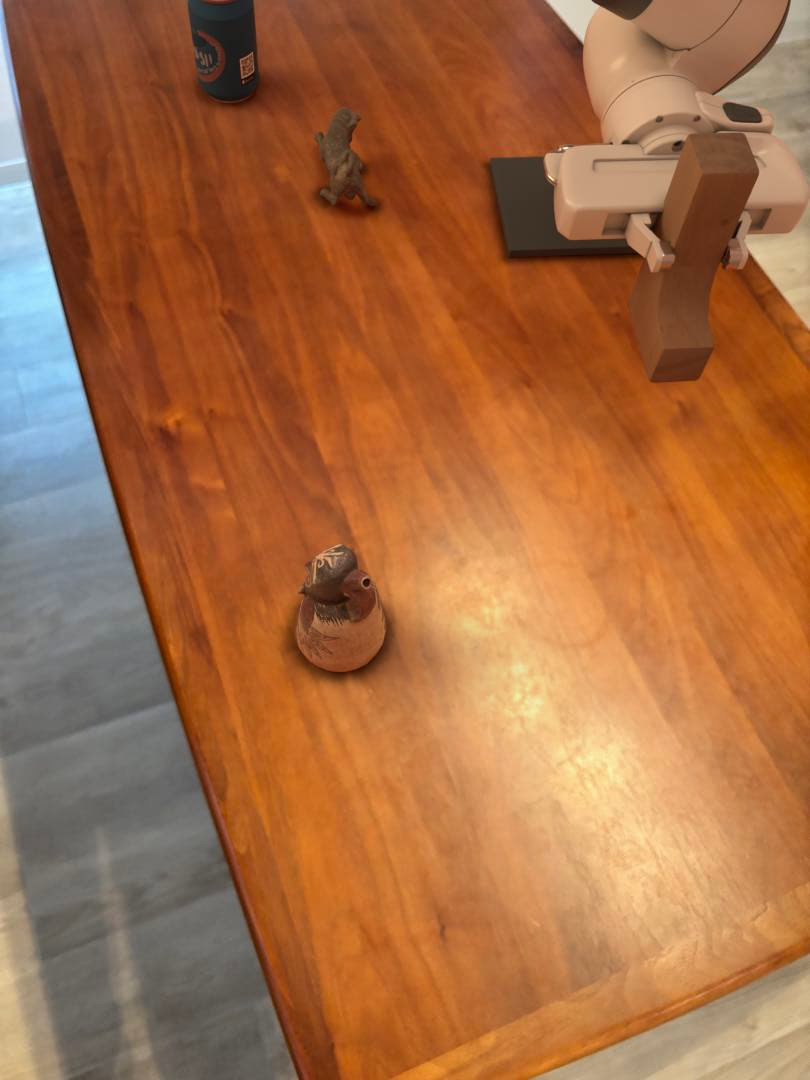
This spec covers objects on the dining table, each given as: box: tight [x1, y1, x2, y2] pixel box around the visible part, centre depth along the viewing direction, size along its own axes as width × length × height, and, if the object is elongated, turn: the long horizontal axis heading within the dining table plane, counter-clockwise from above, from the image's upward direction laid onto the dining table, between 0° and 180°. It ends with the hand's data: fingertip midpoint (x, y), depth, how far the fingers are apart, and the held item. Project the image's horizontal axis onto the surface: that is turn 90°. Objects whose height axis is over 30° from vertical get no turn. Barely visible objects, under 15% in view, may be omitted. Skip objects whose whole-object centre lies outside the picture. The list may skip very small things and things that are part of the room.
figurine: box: [294, 543, 387, 673], centre depth 76 cm, size 7×7×12 cm
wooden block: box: [627, 133, 759, 384], centre depth 79 cm, size 9×4×18 cm, turn 6°
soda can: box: [186, 0, 261, 104], centre depth 109 cm, size 7×7×12 cm
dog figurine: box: [314, 106, 378, 207], centre depth 105 cm, size 12×6×7 cm, turn 9°
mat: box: [489, 156, 639, 258], centre depth 107 cm, size 14×14×1 cm
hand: (700, 265), depth 78 cm, fingers closed on wooden block, 4 cm apart
